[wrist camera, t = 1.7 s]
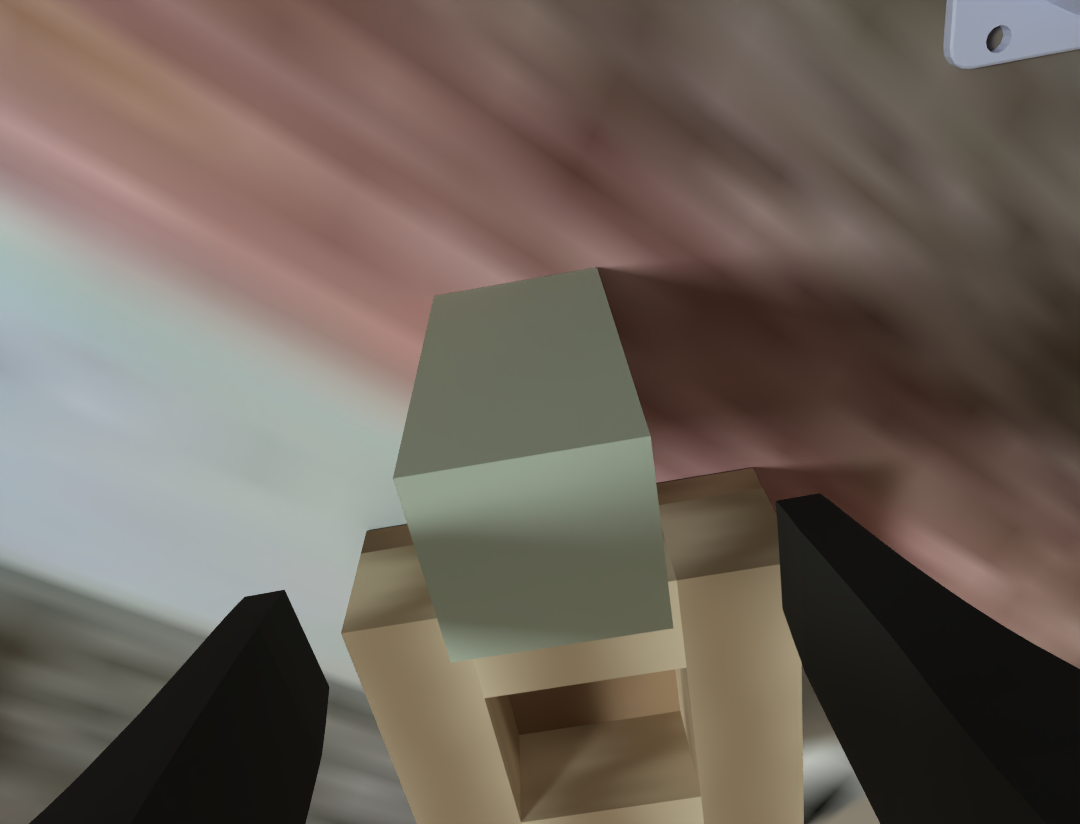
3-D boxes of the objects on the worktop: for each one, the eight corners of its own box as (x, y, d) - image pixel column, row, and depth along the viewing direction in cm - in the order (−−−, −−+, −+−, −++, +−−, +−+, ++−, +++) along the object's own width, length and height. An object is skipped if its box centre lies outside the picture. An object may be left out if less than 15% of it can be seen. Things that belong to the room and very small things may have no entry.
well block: (752, 467, 22) (800, 561, 18) (765, 731, 27) (803, 843, 24) (366, 530, 22) (341, 633, 19) (452, 778, 28) (444, 893, 24)
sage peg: (596, 267, 19) (650, 435, 12) (617, 410, 21) (673, 628, 14) (434, 295, 19) (393, 478, 12) (468, 435, 21) (450, 662, 14)
